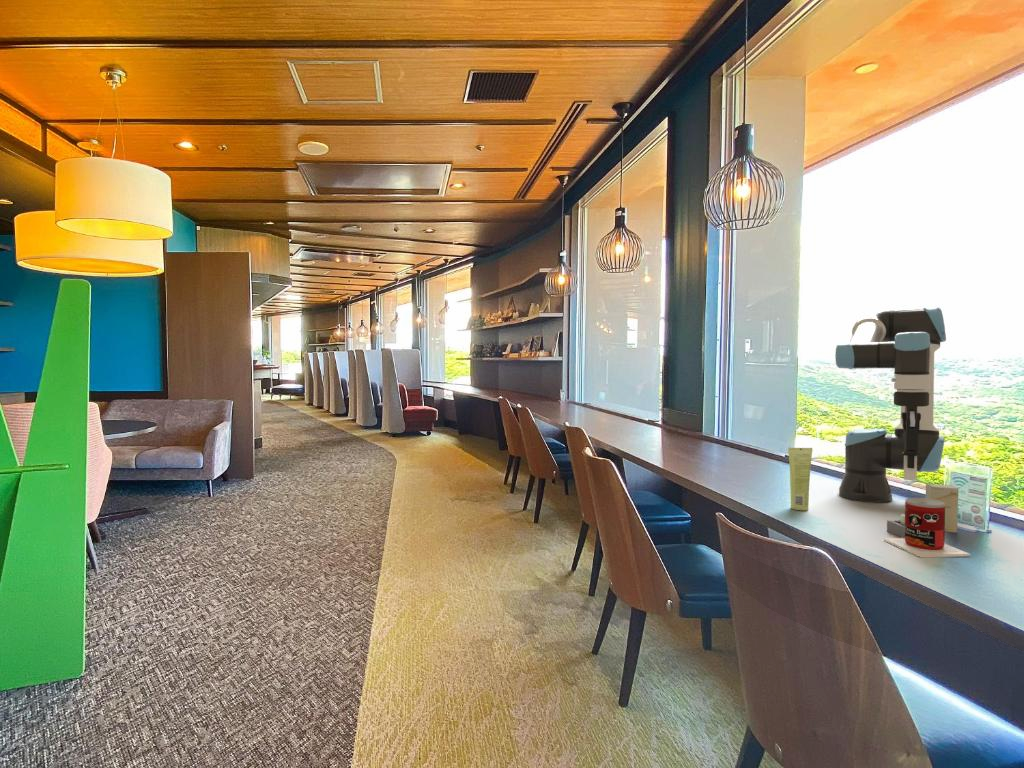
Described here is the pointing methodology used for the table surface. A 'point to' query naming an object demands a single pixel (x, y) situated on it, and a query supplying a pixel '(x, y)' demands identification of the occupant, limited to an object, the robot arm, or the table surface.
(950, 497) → the skincare box
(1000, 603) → the table surface
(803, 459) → the tube
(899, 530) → the button box
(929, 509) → the canned food
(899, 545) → the paper pad
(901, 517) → the button
